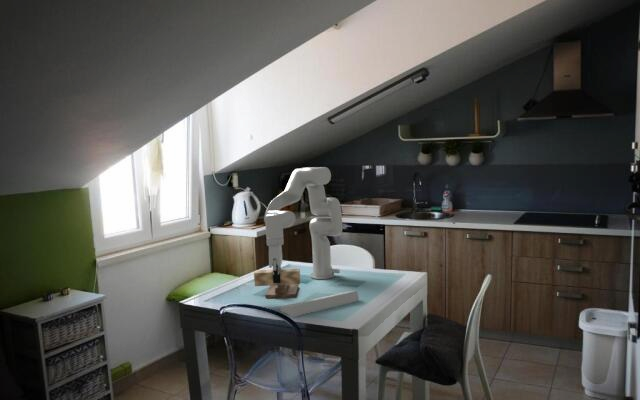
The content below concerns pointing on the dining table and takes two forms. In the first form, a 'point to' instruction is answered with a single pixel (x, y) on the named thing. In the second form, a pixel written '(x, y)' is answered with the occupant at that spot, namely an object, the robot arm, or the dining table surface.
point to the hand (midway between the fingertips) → (277, 280)
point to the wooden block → (285, 277)
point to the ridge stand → (282, 291)
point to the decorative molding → (320, 303)
